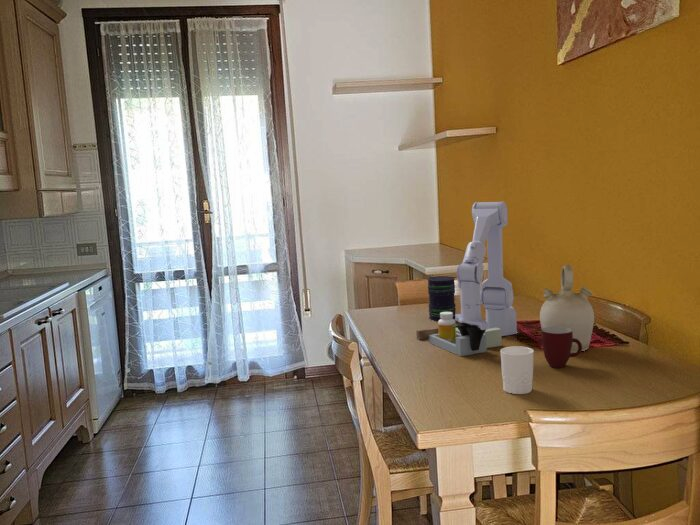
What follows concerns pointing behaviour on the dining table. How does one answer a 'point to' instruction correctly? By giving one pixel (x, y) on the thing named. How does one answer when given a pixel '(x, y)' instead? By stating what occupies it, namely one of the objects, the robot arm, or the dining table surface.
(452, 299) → the storage jar
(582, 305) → the jug
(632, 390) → the dining table surface
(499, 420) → the dining table surface
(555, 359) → the mug
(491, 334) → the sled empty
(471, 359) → the dining table surface
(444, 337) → the supplement bottle
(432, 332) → the walnut guide
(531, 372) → the white cup
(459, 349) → the gray rectangular open frame
